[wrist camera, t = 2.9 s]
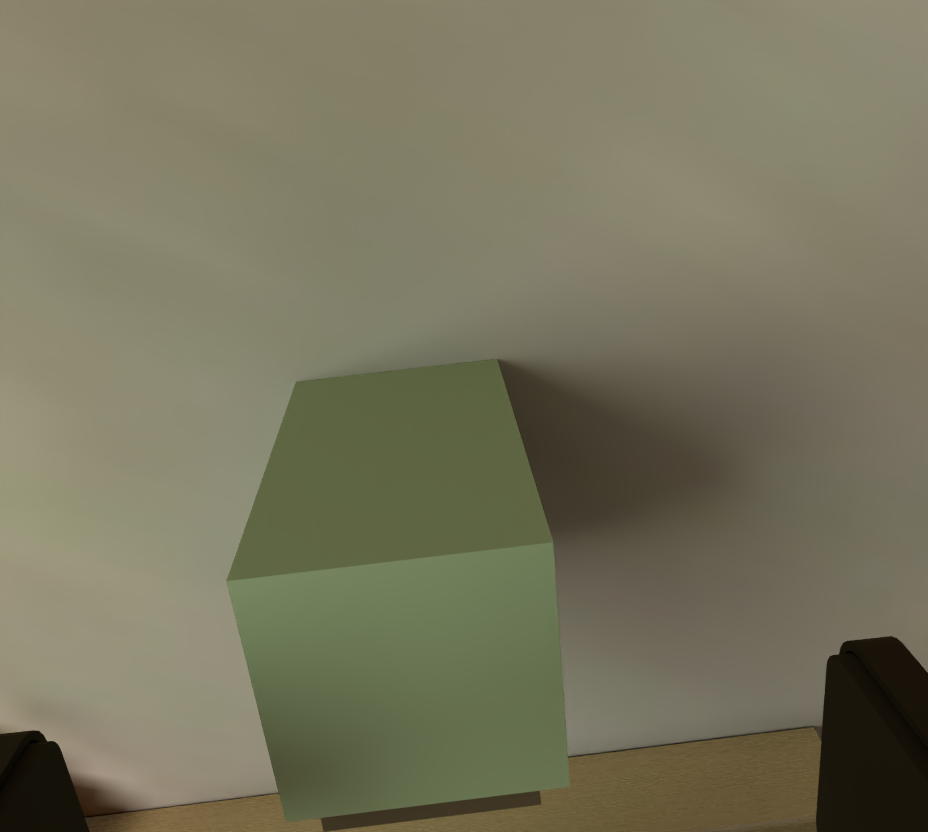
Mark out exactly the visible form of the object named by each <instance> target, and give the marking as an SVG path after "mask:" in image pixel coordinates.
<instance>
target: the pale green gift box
mask: <svg viewBox="0 0 928 832" xmlns="http://www.w3.org/2000/svg"><path fill="white" fill-rule="evenodd" d="M227 585H228V589H229V593H230V597H231V601H232V605H233V610H234V614H235V618H236V622H237V626H238V630H239V634H240V638H241V642H242V646H243V650H244V654H245V658H246V662H247V666H248V670H249V674H250V678H251V683H252V687H253V691H254V695H255V699H256V703H257V707H258V711H259V715H260V719H261V723H262V727H263V731H264V735H265V739H266V743H267V747H268V751H269V755H270V760H271V764H272V768H273V772H274V776H275V780H276V784H277V788H278V792H279V796H280V800H281V804H282V808H283V812H284V816H285V820H286V822H292V821H300V820H308V819H316V818H320V819H321V823H322V828H323V832H327V831H335V830H343V829H351V828H359V827H367V826H375V825H383V824H391V823H399V822H407V821H415V820H423V819H431V818H439V817H447V816H455V815H463V814H471V813H479V812H487V811H495V810H503V809H511V808H519V807H527V806H535V805H541V796H540V790H548V789H556V788H564V787H570V781H569V767H568V752H567V737H566V722H565V707H564V692H563V678H562V663H561V648H560V633H559V618H558V604H557V589H556V574H555V559H554V544H553V539H552V536H551V533H550V530H549V526H548V523H547V520H546V517H545V513H544V510H543V507H542V504H541V500H540V497H539V494H538V491H537V487H536V484H535V481H534V478H533V474H532V471H531V468H530V465H529V461H528V458H527V455H526V452H525V448H524V445H523V442H522V439H521V435H520V432H519V429H518V425H517V422H516V419H515V416H514V412H513V409H512V406H511V403H510V399H509V396H508V393H507V390H506V386H505V383H504V380H503V377H502V373H501V370H500V367H499V364H498V360H497V359H491V360H483V361H474V362H465V363H457V364H448V365H439V366H431V367H422V368H413V369H404V370H396V371H387V372H378V373H370V374H361V375H352V376H344V377H335V378H326V379H318V380H309V381H300V382H296V384H295V386H294V389H293V392H292V395H291V398H290V401H289V404H288V407H287V409H286V412H285V415H284V418H283V421H282V424H281V427H280V429H279V432H278V435H277V438H276V441H275V444H274V447H273V450H272V452H271V455H270V458H269V461H268V464H267V467H266V470H265V472H264V475H263V478H262V481H261V484H260V487H259V490H258V493H257V495H256V498H255V501H254V504H253V507H252V510H251V513H250V515H249V518H248V521H247V524H246V527H245V530H244V533H243V535H242V538H241V541H240V544H239V547H238V550H237V553H236V556H235V558H234V561H233V564H232V567H231V570H230V573H229V576H228V578H227Z"/></svg>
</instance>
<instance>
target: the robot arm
mask: <svg viewBox="0 0 928 832" xmlns="http://www.w3.org/2000/svg"><path fill="white" fill-rule="evenodd" d="M816 828H817V832H928V673H927V671H926V670H925V669H924V668H923V667H922V666H921V664H920V663H919V662H918V661H917V660H916V659H915V657H914V656H913V655H912V654H911V653H910V652H909V650H908V649H907V648H906V647H905V646H904V644H903V643H902V642H900V641H899V640H898V639H897V638H895V637H892V636H889V637H880V638H871V639H862V640H853V641H847V642H844V643H843V644H842V646H841V648H840V653H839V655H832V656H830V657H829V659H828V661H827V669H826V683H825V697H824V711H823V725H822V739H821V753H820V767H819V781H818V796H817V810H816ZM0 832H90V831H89V828H88V826H87V823H86V820H85V817H84V814H83V811H82V809H81V806H80V803H79V800H78V797H77V794H76V792H75V789H74V786H73V783H72V780H71V777H70V775H69V772H68V769H67V766H66V763H65V760H64V758H63V755H62V752H61V749H60V747H59V745H58V744H57V743H56V742H54V741H48V742H47V740H46V739H45V737H44V735H43V734H42V733H41V732H39V731H34V730H33V731H24V732H15V733H6V734H0Z"/></svg>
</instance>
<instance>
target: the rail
mask: <svg viewBox="0 0 928 832" xmlns="http://www.w3.org/2000/svg"><path fill="white" fill-rule="evenodd" d="M820 753H821V739H820V737H819V736H818V734H817V732H816V731H815V729H814V727H810V728H802V729H794V730H786V731H778V732H770V733H762V734H754V735H746V736H738V737H730V738H722V739H714V740H706V741H698V742H690V743H682V744H674V745H666V746H658V747H650V748H642V749H634V750H626V751H618V752H610V753H602V754H594V755H586V756H578V757H570V758H568V767H569V781H570V787H564V788H556V789H548V790H540V796H541V805H535V806H527V807H519V808H511V809H503V810H495V811H487V812H479V813H471V814H463V815H455V816H447V817H439V818H431V819H423V820H415V821H407V822H399V823H391V824H383V825H375V826H367V827H359V828H351V829H343V830H335V831H327V832H817V828H816V810H817V796H818V781H819V767H820ZM85 820H86V823H87V826H88V828H89V831H90V832H323V828H322V823H321V819H320V818H316V819H308V820H300V821H292V822H286V820H285V816H284V812H283V808H282V804H281V800H280V796H279V794H273V795H265V796H257V797H249V798H241V799H233V800H225V801H217V802H209V803H201V804H193V805H185V806H177V807H169V808H161V809H153V810H145V811H137V812H129V813H121V814H113V815H105V816H97V817H89V818H85Z"/></svg>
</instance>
